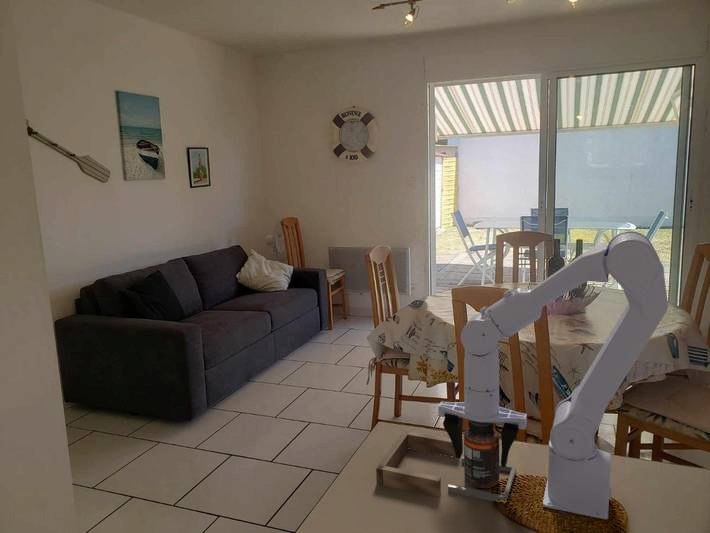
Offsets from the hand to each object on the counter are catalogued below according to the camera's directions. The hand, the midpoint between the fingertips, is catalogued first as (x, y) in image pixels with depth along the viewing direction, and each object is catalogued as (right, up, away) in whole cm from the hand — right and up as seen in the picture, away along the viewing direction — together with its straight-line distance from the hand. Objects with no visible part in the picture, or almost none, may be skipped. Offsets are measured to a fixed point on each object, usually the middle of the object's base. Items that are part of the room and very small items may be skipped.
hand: (481, 459), depth 95 cm
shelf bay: (-9, -4, +5) cm, 11 cm away
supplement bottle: (0, -4, +1) cm, 4 cm away
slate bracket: (0, -4, +1) cm, 4 cm away
